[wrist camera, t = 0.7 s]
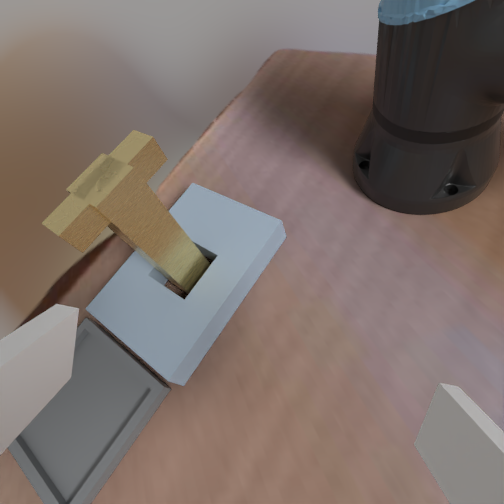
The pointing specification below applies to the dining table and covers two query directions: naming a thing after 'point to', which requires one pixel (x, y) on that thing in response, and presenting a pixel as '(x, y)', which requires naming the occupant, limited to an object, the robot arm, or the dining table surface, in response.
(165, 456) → the dining table surface
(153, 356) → the cover plate
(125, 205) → the t key
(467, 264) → the dining table surface
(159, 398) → the tray
